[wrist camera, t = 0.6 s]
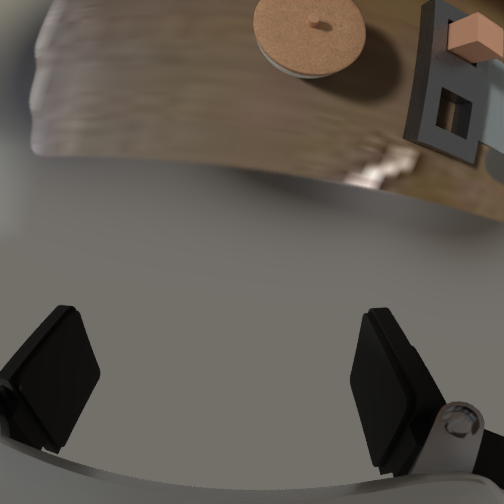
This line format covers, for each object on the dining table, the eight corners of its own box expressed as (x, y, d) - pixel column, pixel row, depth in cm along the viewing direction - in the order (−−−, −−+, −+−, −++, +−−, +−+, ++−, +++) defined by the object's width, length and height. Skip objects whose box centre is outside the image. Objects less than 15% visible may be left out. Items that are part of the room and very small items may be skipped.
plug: (436, 30, 28) (478, 12, 18) (459, 42, 28) (503, 29, 18) (433, 54, 29) (477, 40, 20) (457, 66, 29) (503, 57, 20)
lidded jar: (339, 95, 32) (365, 84, 23) (247, 77, 32) (243, 59, 23) (350, 17, 28) (376, -11, 20) (261, -1, 28) (262, -36, 19)
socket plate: (421, 5, 26) (435, -4, 23) (473, 33, 27) (489, 28, 23) (402, 138, 34) (417, 140, 30) (456, 160, 34) (473, 164, 30)
